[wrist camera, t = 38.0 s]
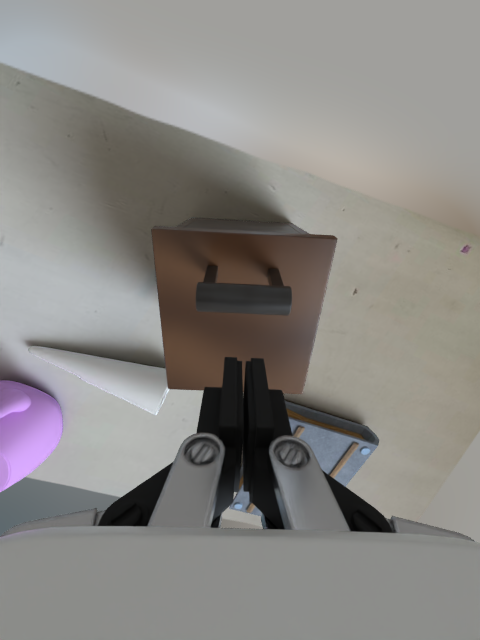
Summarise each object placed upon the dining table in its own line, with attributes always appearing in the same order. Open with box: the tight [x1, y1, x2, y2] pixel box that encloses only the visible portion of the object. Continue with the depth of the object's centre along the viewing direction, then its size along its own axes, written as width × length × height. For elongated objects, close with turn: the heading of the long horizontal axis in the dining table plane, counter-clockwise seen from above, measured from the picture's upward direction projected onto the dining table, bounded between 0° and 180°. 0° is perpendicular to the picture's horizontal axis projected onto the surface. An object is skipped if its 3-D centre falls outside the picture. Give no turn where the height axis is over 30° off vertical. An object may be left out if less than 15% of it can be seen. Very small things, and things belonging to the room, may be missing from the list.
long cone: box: [28, 346, 169, 415], centre depth 38 cm, size 6×6×19 cm
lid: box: [151, 226, 337, 394], centre depth 19 cm, size 13×12×6 cm
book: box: [230, 401, 379, 516], centre depth 46 cm, size 21×16×5 cm
